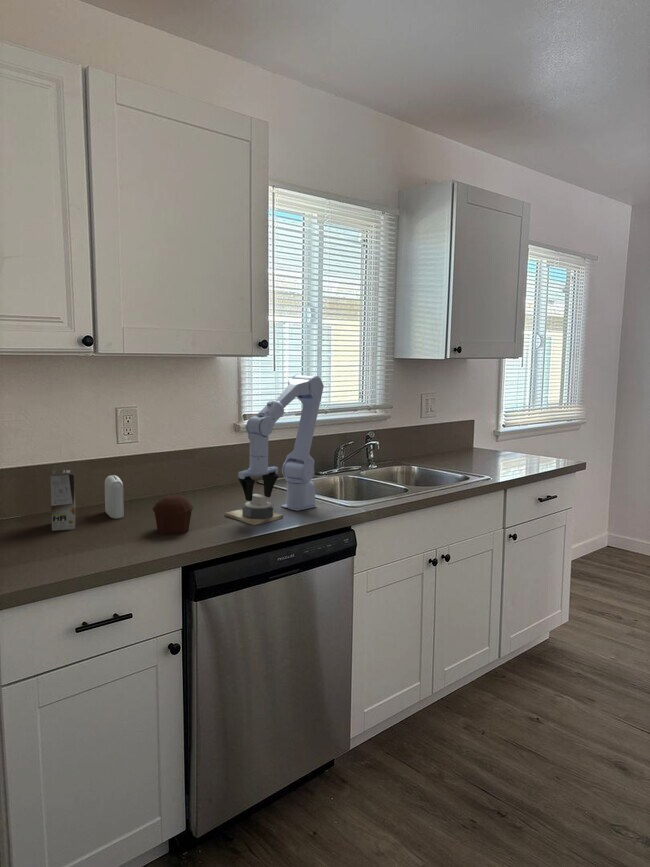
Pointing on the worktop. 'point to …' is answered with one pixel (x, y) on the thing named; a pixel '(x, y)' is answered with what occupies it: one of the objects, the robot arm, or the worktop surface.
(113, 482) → the grey rounded upright block
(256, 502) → the white flanged knob
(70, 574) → the worktop surface
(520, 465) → the worktop surface
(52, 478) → the coffee box
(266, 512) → the grey faceted ring
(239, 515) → the mount board
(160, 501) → the muffin
